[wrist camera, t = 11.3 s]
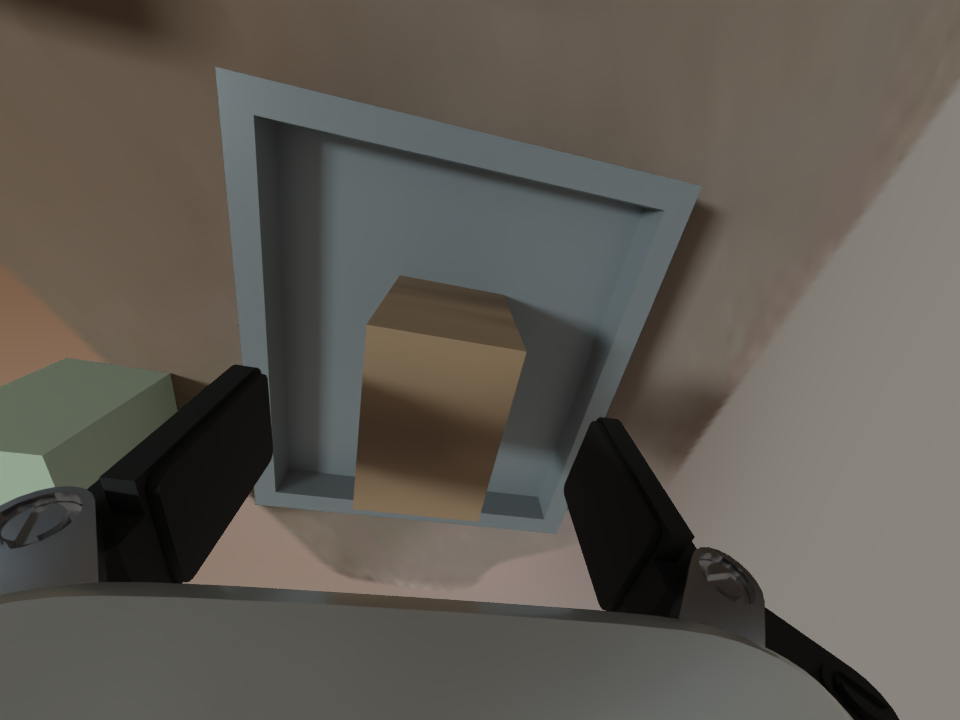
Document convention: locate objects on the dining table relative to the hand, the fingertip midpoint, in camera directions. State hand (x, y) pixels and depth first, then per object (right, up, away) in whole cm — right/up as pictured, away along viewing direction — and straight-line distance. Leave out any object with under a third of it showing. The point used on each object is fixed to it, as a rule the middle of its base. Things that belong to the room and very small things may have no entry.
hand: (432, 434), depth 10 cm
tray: (-1, +3, +7) cm, 8 cm away
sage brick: (-17, -1, +8) cm, 18 cm away
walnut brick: (-1, +2, +6) cm, 7 cm away
